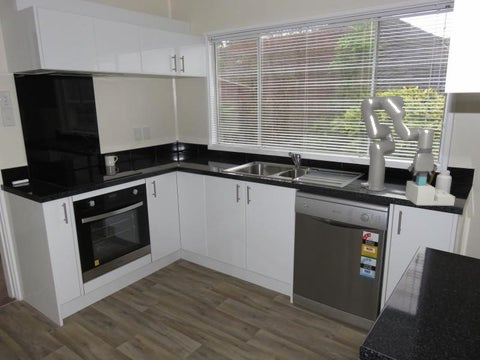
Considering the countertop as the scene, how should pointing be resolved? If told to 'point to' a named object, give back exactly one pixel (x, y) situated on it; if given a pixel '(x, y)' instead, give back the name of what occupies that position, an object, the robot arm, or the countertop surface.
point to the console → (427, 195)
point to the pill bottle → (443, 181)
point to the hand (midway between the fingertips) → (420, 181)
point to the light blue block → (421, 178)
